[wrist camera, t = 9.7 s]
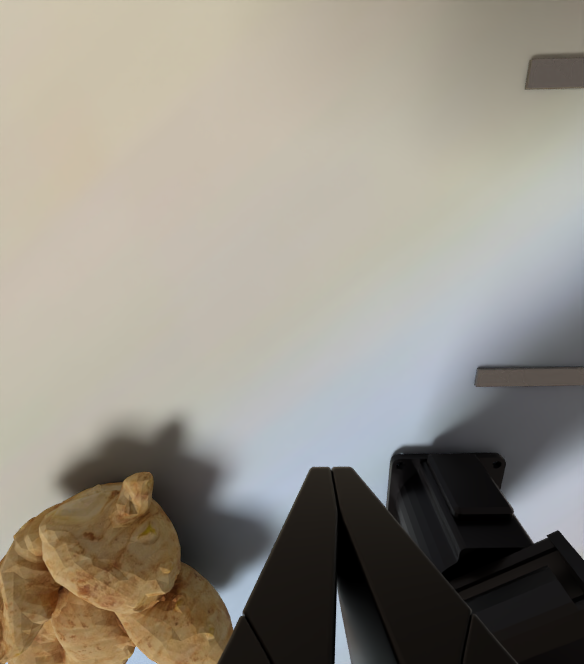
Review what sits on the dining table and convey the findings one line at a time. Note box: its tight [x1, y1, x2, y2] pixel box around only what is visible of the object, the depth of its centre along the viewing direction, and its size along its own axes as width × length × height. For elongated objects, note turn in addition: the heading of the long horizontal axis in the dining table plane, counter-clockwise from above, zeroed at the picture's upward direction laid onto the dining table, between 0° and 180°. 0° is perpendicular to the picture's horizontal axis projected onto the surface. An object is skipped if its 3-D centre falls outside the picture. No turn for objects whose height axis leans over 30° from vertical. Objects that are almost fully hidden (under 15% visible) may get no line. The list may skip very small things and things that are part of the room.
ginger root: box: [0, 472, 233, 664], centre depth 22 cm, size 16×16×8 cm
